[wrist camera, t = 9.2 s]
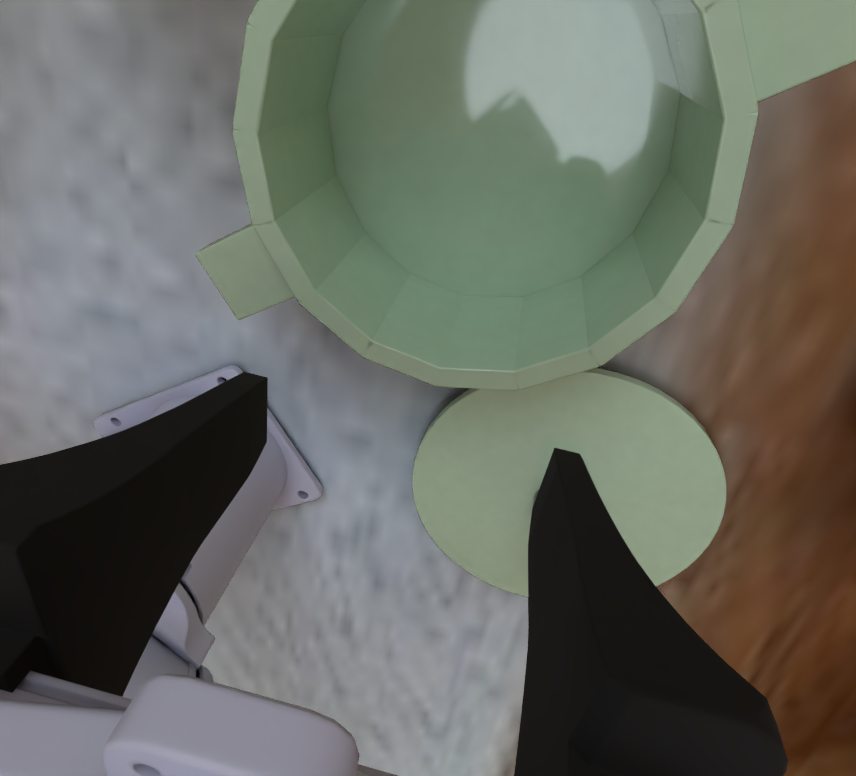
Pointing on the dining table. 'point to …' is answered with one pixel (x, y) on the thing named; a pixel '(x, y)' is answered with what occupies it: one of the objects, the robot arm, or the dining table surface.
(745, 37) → the pot
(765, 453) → the dining table surface
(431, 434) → the lid
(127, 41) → the dining table surface
